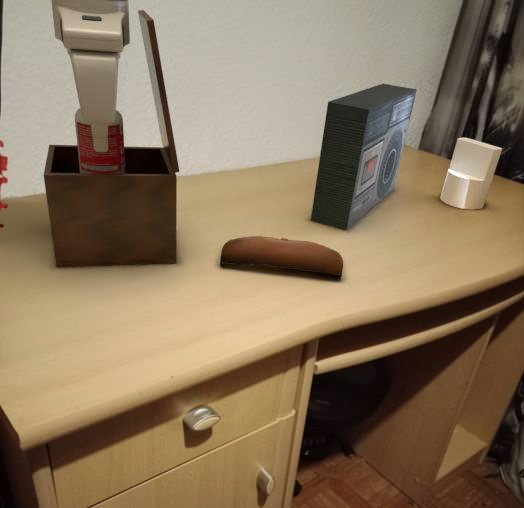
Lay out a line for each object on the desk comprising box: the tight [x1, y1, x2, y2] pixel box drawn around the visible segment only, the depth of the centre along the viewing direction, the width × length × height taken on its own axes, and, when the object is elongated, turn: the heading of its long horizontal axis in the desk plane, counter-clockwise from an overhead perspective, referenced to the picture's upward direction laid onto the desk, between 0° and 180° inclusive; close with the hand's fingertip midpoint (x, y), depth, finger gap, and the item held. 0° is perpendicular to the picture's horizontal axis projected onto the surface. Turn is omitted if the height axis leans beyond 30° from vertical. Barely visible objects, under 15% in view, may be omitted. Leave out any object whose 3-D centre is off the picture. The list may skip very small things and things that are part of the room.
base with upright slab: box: [440, 137, 503, 211], centre depth 112 cm, size 9×9×12 cm
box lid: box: [137, 9, 180, 174], centre depth 72 cm, size 17×14×1 cm
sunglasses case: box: [219, 235, 344, 278], centre depth 81 cm, size 18×7×7 cm, turn 86°
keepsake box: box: [43, 144, 178, 268], centre depth 79 cm, size 17×14×13 cm
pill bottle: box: [74, 108, 125, 174], centre depth 73 cm, size 6×6×11 cm
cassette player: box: [310, 83, 418, 231], centre depth 102 cm, size 29×7×20 cm, turn 152°
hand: (100, 142), depth 74 cm, fingers closed on pill bottle, 6 cm apart
